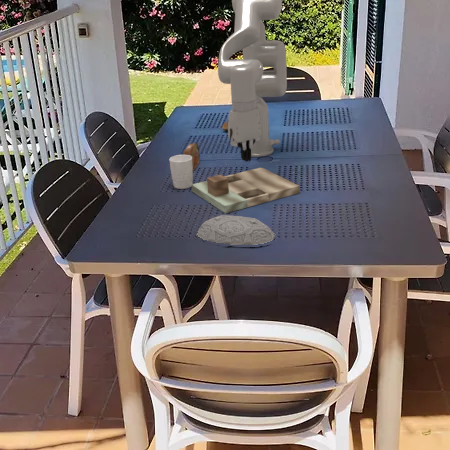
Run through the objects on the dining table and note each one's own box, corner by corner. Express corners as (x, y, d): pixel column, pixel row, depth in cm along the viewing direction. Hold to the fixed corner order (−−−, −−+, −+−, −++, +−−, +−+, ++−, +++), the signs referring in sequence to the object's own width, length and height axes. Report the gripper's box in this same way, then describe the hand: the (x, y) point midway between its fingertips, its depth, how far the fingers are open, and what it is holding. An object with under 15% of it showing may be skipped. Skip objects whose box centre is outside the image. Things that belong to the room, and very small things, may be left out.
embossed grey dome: (205, 219, 182) (204, 199, 178) (285, 231, 174) (285, 211, 170) (184, 246, 169) (183, 226, 166) (270, 261, 161) (269, 240, 158)
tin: (191, 174, 219) (189, 152, 216) (182, 174, 220) (180, 152, 216) (200, 161, 233) (199, 140, 229) (193, 161, 233) (191, 140, 230)
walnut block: (221, 188, 198) (220, 174, 196) (228, 193, 194) (228, 178, 192) (207, 192, 196) (206, 177, 193) (215, 196, 192) (214, 182, 189)
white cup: (177, 191, 205) (174, 163, 201) (168, 184, 211) (165, 157, 207) (198, 186, 208) (195, 159, 204) (188, 179, 214) (186, 153, 210)
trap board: (261, 173, 216) (261, 167, 215) (299, 192, 197) (299, 185, 196) (192, 191, 204) (191, 184, 203) (225, 213, 185) (224, 206, 184)
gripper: (257, 98, 195) (259, 151, 203) (217, 107, 189) (221, 161, 197) (270, 103, 189) (271, 158, 197) (229, 112, 183) (232, 168, 191)
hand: (246, 159), depth 197 cm, fingers closed
